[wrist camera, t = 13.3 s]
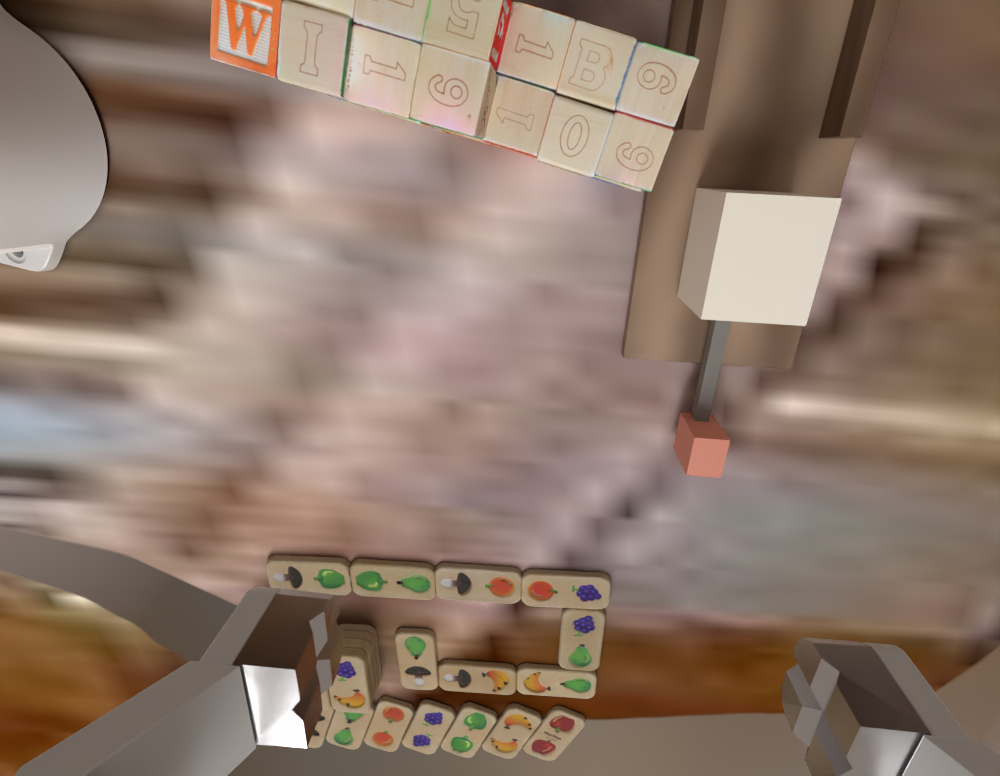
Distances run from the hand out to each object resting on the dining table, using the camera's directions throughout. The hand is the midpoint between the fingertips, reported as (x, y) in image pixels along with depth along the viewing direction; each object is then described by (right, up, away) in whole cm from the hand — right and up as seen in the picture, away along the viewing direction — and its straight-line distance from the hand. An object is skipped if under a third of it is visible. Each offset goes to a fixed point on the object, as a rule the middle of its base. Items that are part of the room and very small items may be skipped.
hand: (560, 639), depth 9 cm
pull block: (+14, +8, +28) cm, 32 cm away
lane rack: (+15, +20, +24) cm, 35 cm away
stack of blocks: (-2, +24, +24) cm, 34 cm away
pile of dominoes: (-8, -24, +45) cm, 52 cm away
